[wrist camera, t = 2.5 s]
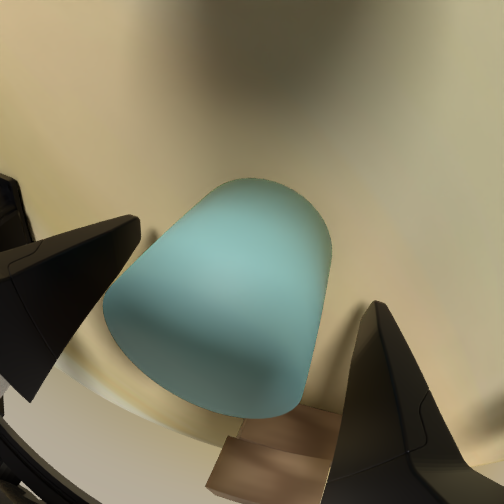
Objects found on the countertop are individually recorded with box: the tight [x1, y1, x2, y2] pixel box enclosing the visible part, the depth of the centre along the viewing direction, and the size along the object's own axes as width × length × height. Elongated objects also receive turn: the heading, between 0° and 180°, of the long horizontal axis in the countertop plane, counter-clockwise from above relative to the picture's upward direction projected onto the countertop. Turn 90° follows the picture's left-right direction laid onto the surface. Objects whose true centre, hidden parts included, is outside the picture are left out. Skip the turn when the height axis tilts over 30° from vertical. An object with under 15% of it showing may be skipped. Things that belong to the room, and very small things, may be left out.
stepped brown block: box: [205, 436, 331, 504], centre depth 13 cm, size 6×6×4 cm
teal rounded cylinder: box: [103, 178, 332, 419], centre depth 8 cm, size 5×5×5 cm
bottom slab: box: [237, 404, 342, 468], centre depth 16 cm, size 6×6×4 cm
